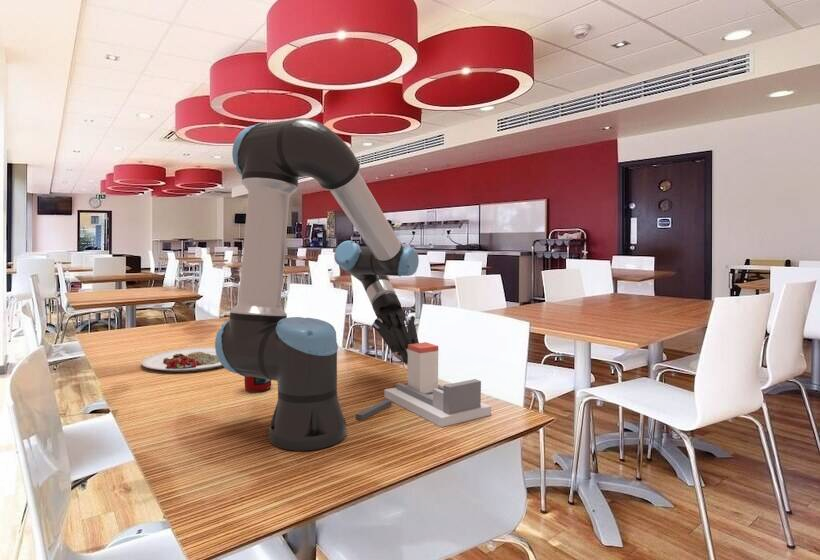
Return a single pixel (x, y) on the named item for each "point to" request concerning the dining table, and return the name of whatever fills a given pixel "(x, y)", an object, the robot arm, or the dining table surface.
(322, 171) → the robot arm
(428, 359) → the toggle
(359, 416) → the gray rectangular bar
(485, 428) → the dining table surface
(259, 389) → the beverage can
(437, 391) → the gray railed slide base
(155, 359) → the plated food
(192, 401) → the dining table surface
